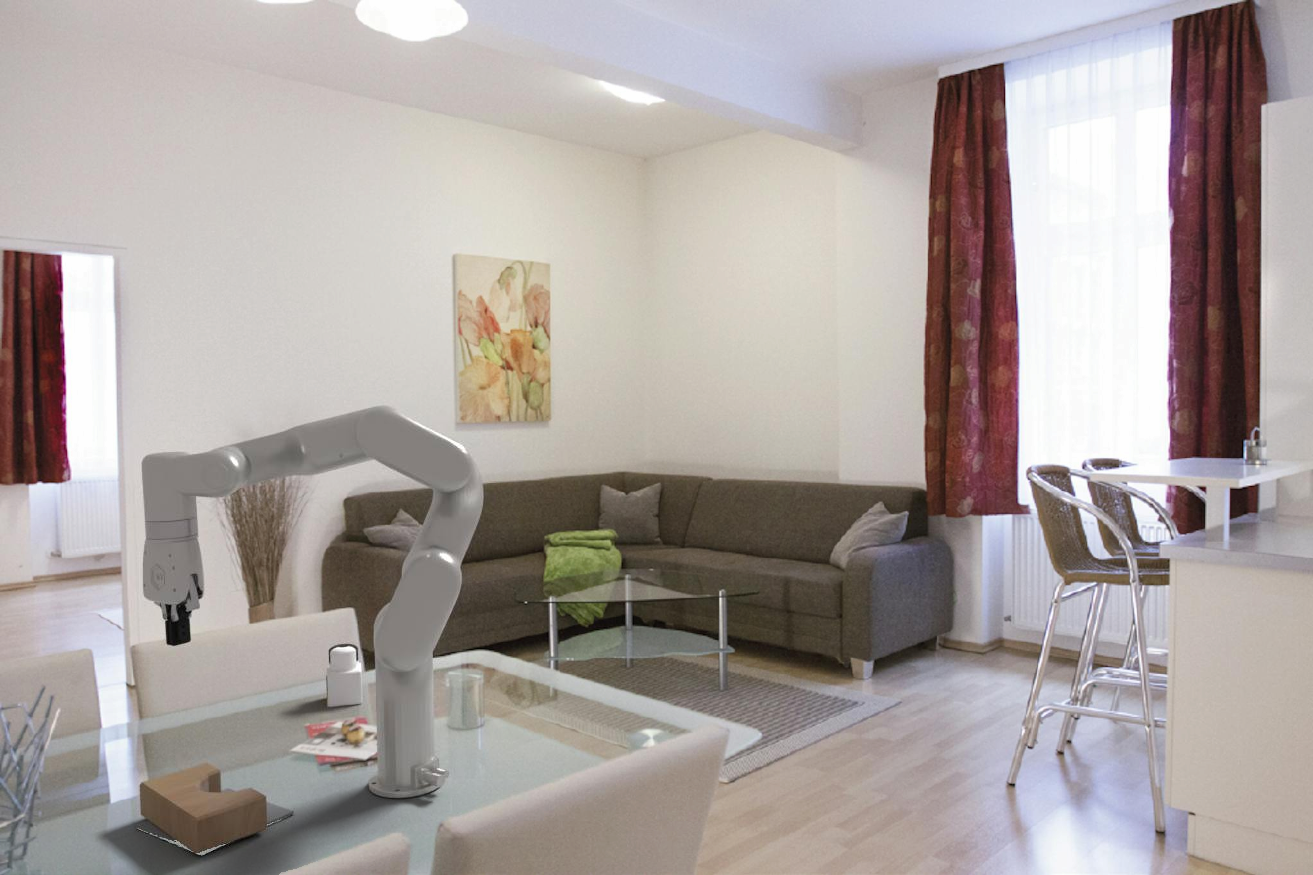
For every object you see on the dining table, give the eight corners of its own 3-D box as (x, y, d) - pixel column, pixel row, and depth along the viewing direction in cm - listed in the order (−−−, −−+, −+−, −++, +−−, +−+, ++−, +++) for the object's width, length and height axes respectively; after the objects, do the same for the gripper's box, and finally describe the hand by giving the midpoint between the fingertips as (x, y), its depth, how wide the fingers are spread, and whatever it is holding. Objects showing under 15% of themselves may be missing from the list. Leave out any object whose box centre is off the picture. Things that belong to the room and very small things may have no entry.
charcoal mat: (293, 814, 158) (293, 811, 158) (201, 856, 145) (201, 852, 145) (228, 791, 167) (227, 788, 167) (135, 828, 154) (135, 824, 154)
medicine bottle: (327, 697, 216) (326, 643, 215) (361, 693, 218) (360, 640, 217) (327, 707, 209) (325, 651, 208) (362, 704, 211) (360, 648, 210)
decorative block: (208, 761, 165) (267, 794, 151) (209, 795, 165) (268, 831, 152) (138, 780, 156) (194, 817, 143) (139, 816, 157) (195, 856, 143)
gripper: (122, 530, 159) (129, 643, 160) (177, 536, 151) (184, 655, 152) (166, 523, 165) (173, 632, 166) (222, 529, 157) (228, 643, 158)
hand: (178, 643), depth 159 cm, fingers closed
